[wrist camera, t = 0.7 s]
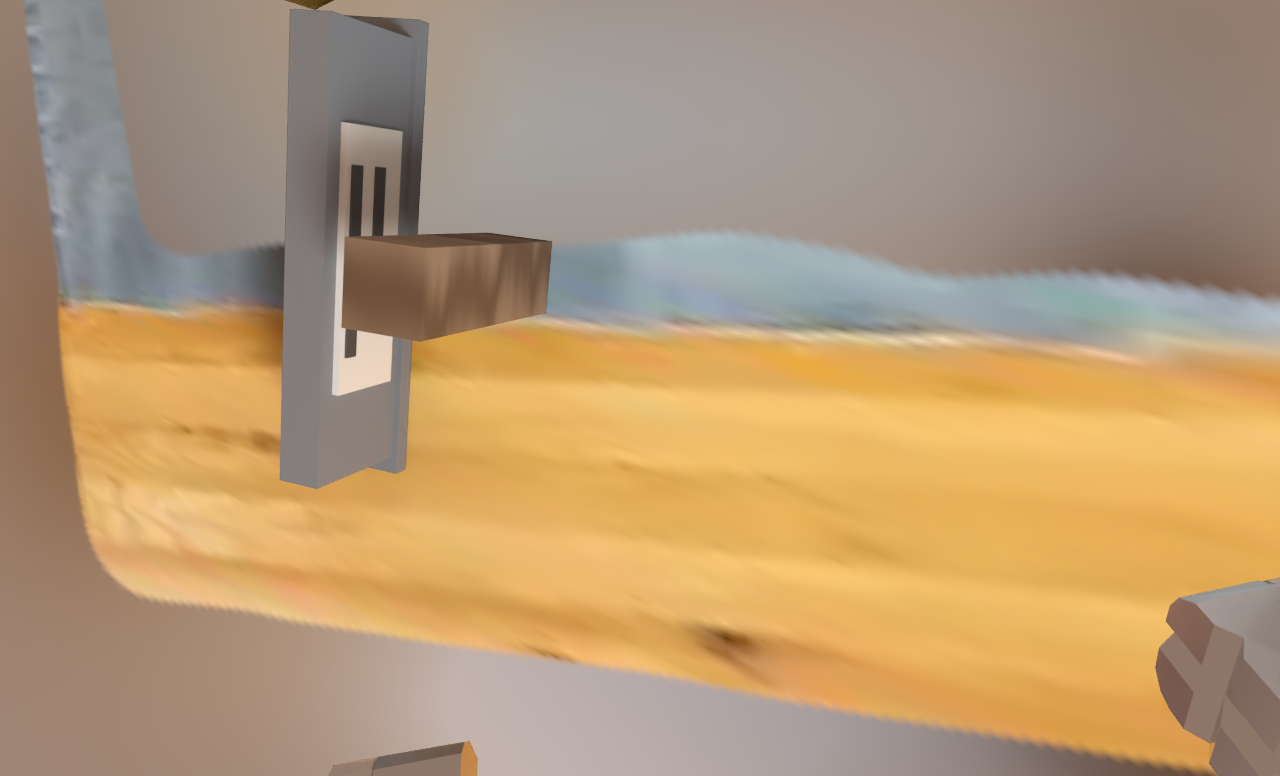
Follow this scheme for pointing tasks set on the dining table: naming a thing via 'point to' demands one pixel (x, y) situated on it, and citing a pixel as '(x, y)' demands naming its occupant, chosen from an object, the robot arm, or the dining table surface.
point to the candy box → (311, 3)
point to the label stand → (345, 207)
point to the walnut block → (441, 282)
